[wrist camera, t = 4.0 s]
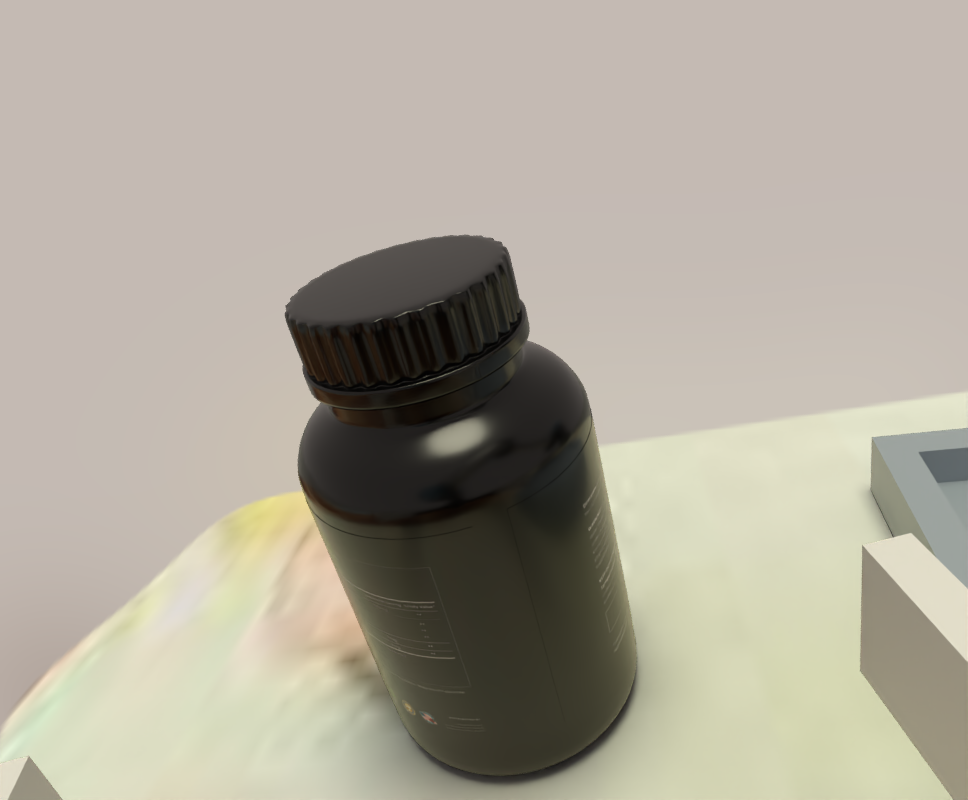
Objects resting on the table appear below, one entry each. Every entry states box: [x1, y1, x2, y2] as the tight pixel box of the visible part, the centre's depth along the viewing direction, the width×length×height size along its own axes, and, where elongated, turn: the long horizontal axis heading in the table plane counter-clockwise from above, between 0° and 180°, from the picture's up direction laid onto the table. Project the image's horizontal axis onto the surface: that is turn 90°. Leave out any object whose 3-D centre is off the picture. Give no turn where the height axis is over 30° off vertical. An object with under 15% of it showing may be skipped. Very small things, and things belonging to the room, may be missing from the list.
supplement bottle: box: [285, 235, 637, 776], centre depth 18 cm, size 7×7×12 cm
